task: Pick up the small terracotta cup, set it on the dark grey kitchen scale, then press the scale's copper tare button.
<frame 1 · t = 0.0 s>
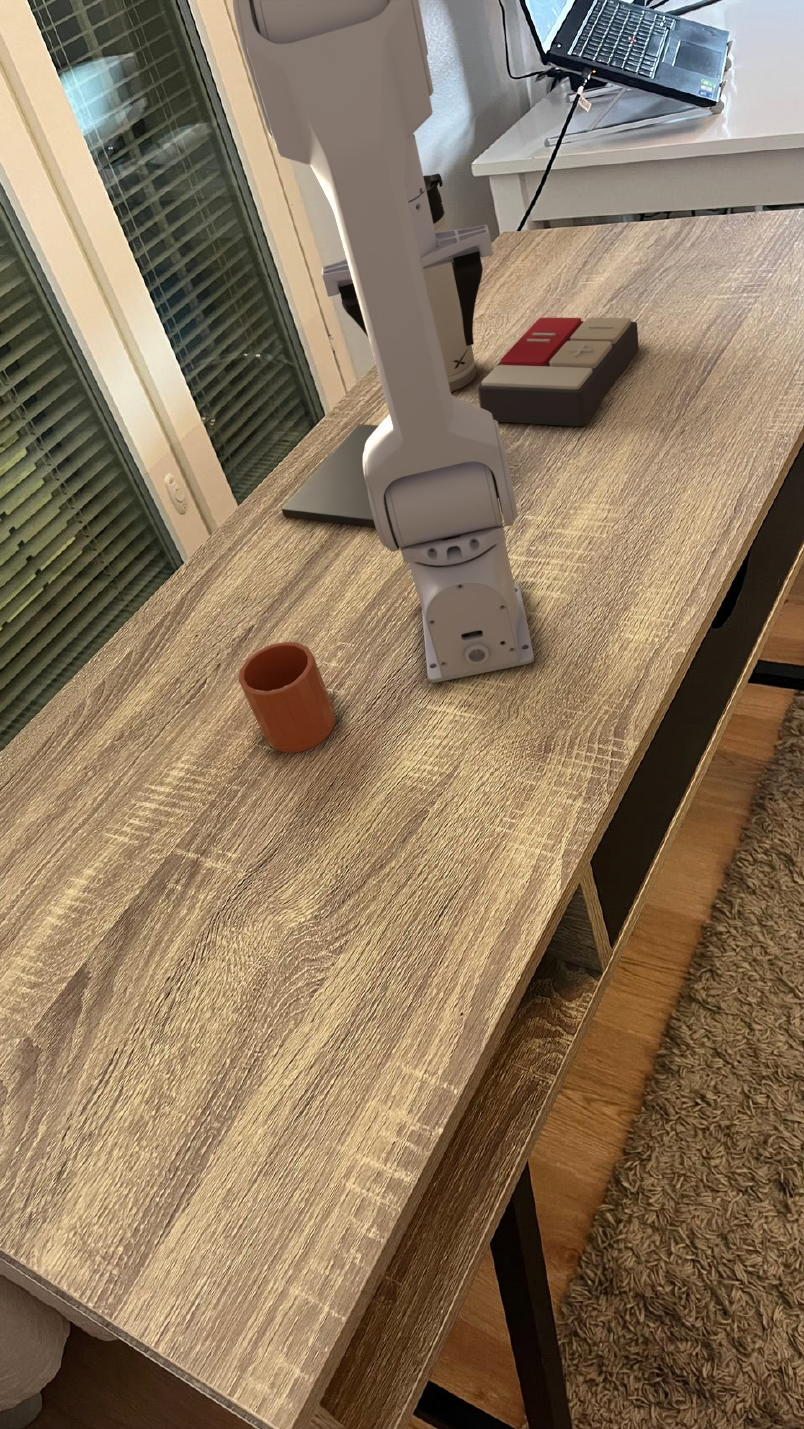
hand: (427, 350, 97), 10 cm above the table, tool pointing down, fingers open, 7 cm apart
scale: (370, 477, 104), on the table
travel mug: (450, 380, 114), on the table
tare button: (409, 429, 102), point 3 cm above the table, slide at 0.1 cm
calculator: (562, 387, 108), on the table
cup: (300, 726, 80), on the table
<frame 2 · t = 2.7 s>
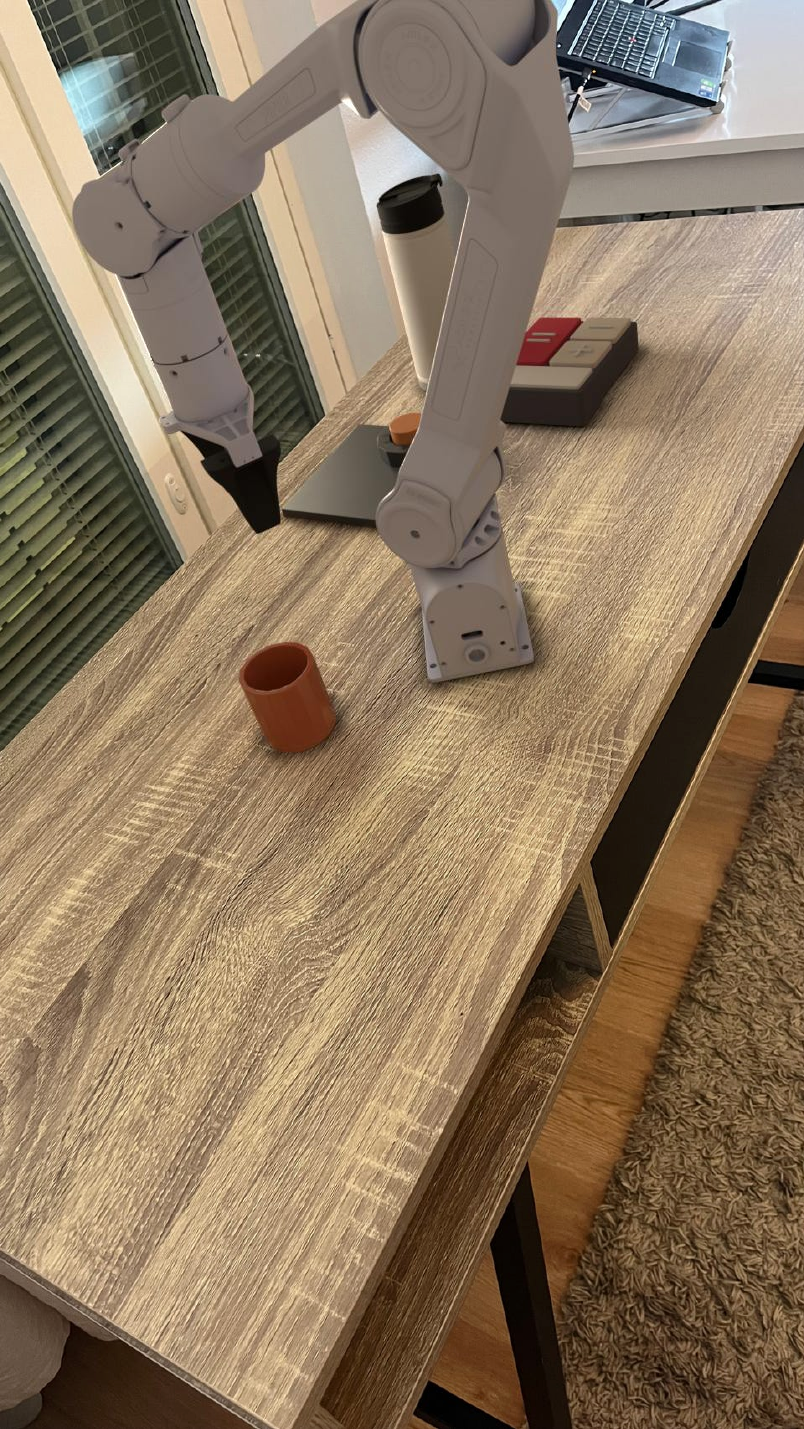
hand: (252, 506, 84), 10 cm above the table, tool pointing down, fingers open, 7 cm apart
nothing on the table moved.
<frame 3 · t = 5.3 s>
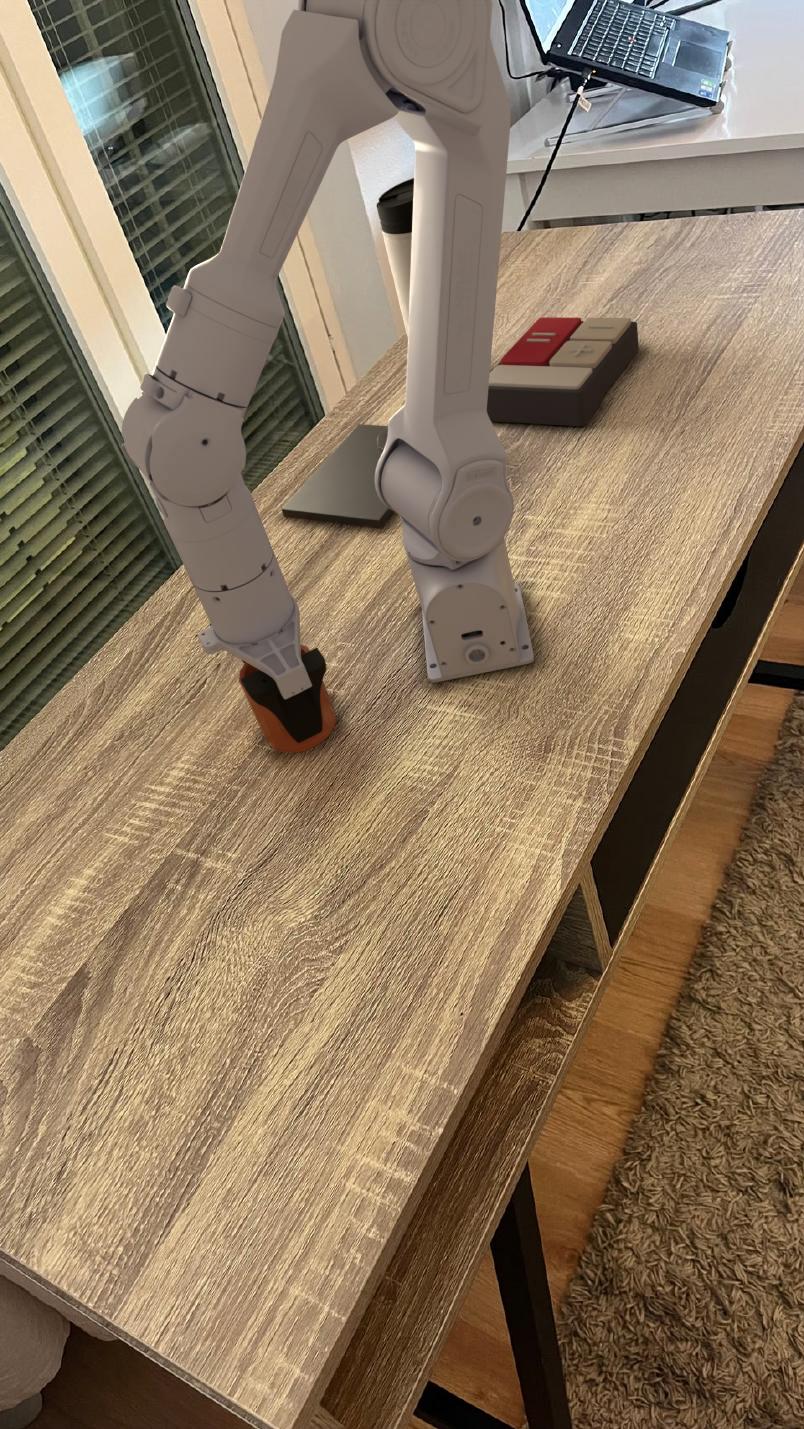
hand: (294, 710, 79), 2 cm above the table, tool pointing down, fingers closed on cup, 5 cm apart
cup: (300, 726, 80), on the table, touching gripper
everything else where it was.
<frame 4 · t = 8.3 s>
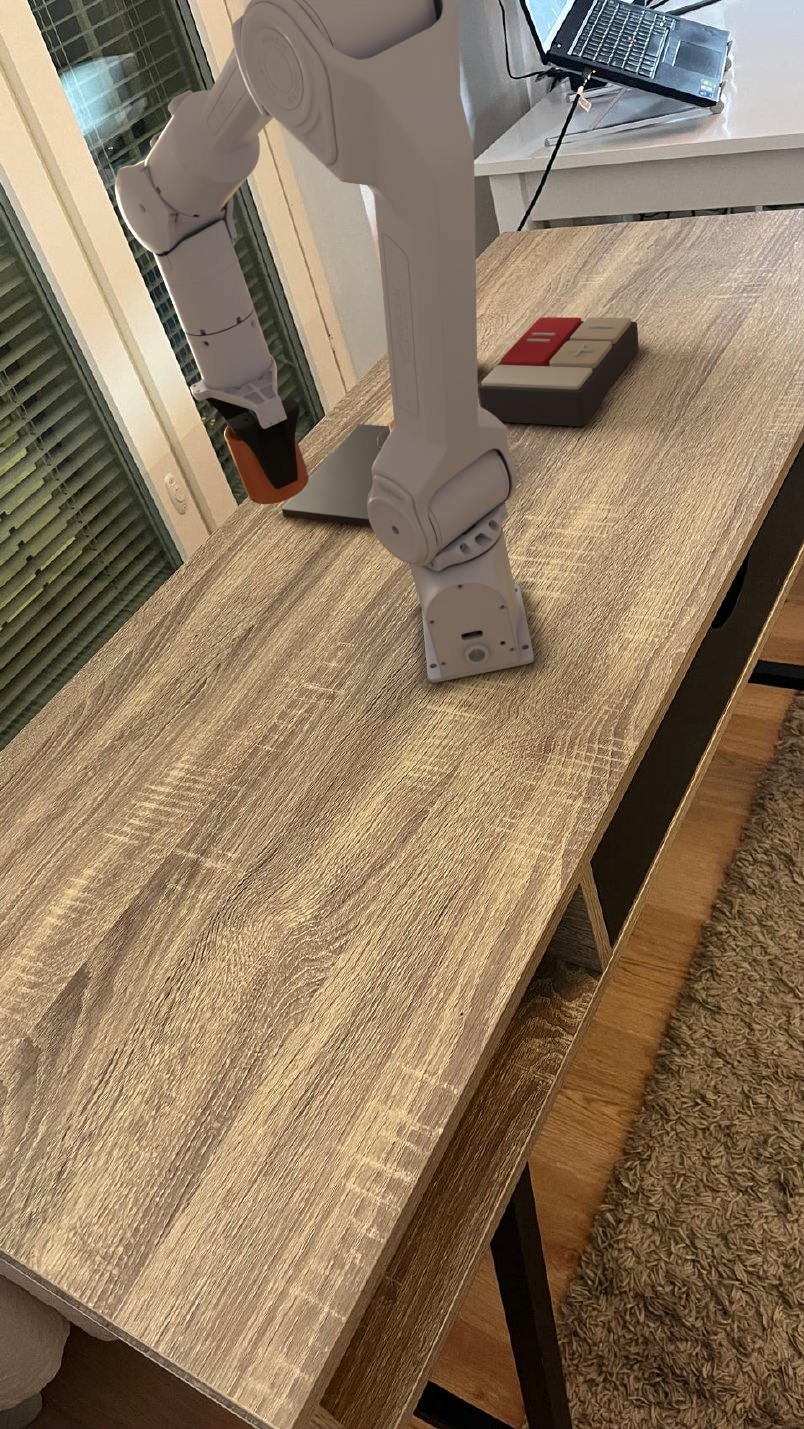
hand: (273, 469, 92), 8 cm above the table, tool pointing down, fingers closed on cup, 5 cm apart
cup: (278, 486, 93), point 7 cm above the table, touching gripper
everything else where it was.
when the fingers open (2 cm above the table, at t = 11.3 s): cup stays where it is, resting on scale.
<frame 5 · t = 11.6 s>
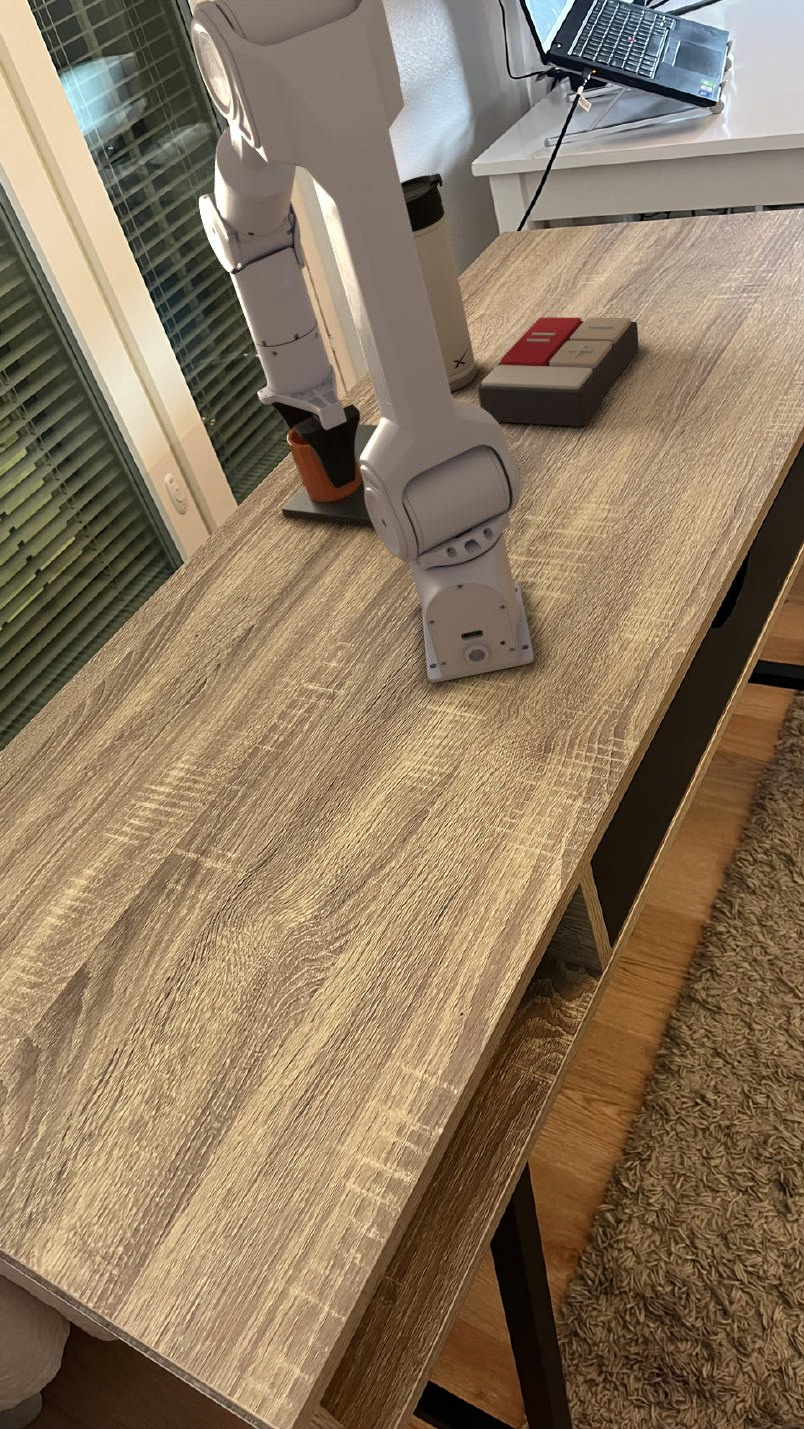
hand: (329, 466, 101), 3 cm above the table, tool pointing down, fingers open, 7 cm apart
cup: (334, 485, 102), point 1 cm above the table, touching scale
everything else where it was.
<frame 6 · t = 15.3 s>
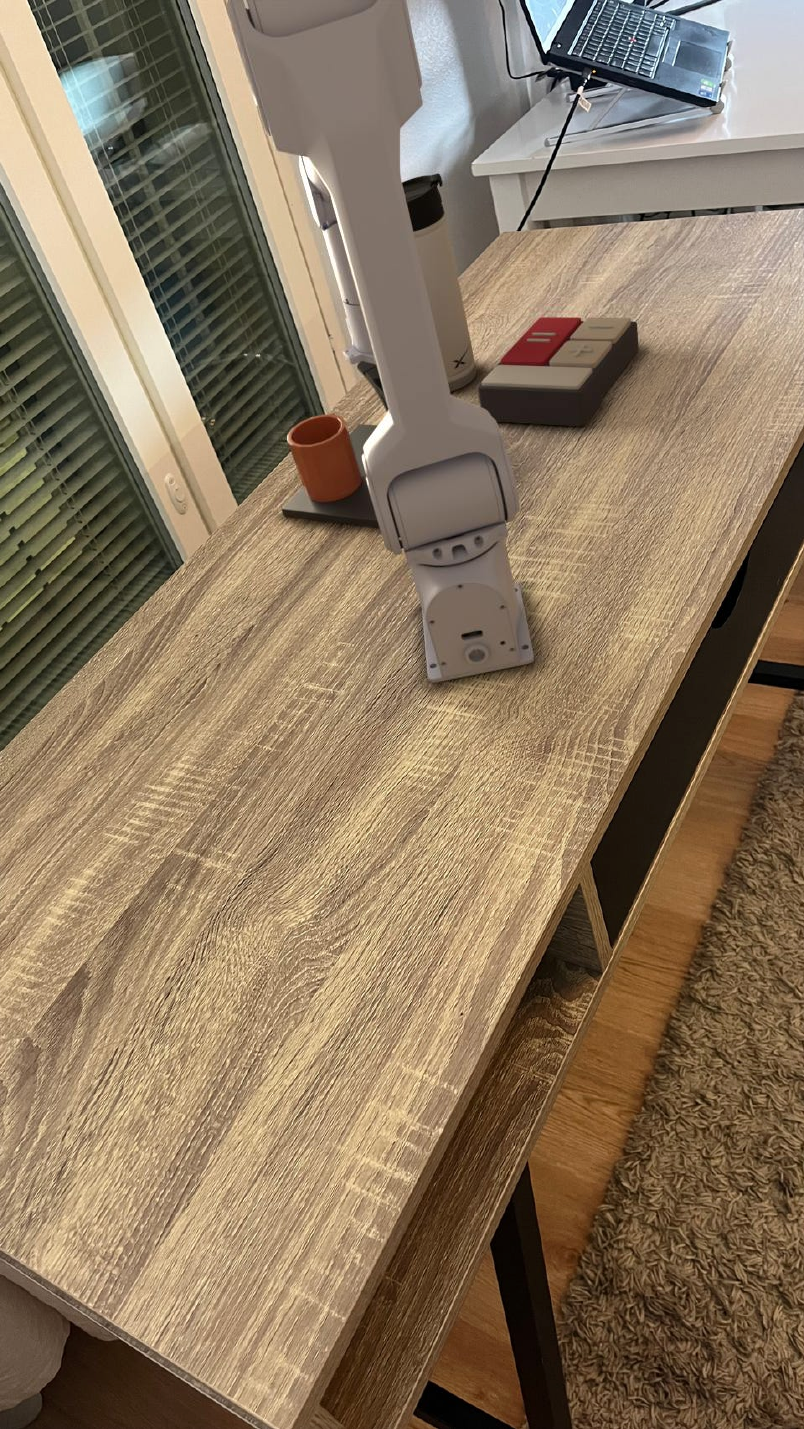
hand: (408, 428, 102), 3 cm above the table, tool pointing down, fingers closed, pressing on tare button
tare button: (410, 435, 103), point 2 cm above the table, slide at -0.4 cm, touching gripper
everything else where it was.
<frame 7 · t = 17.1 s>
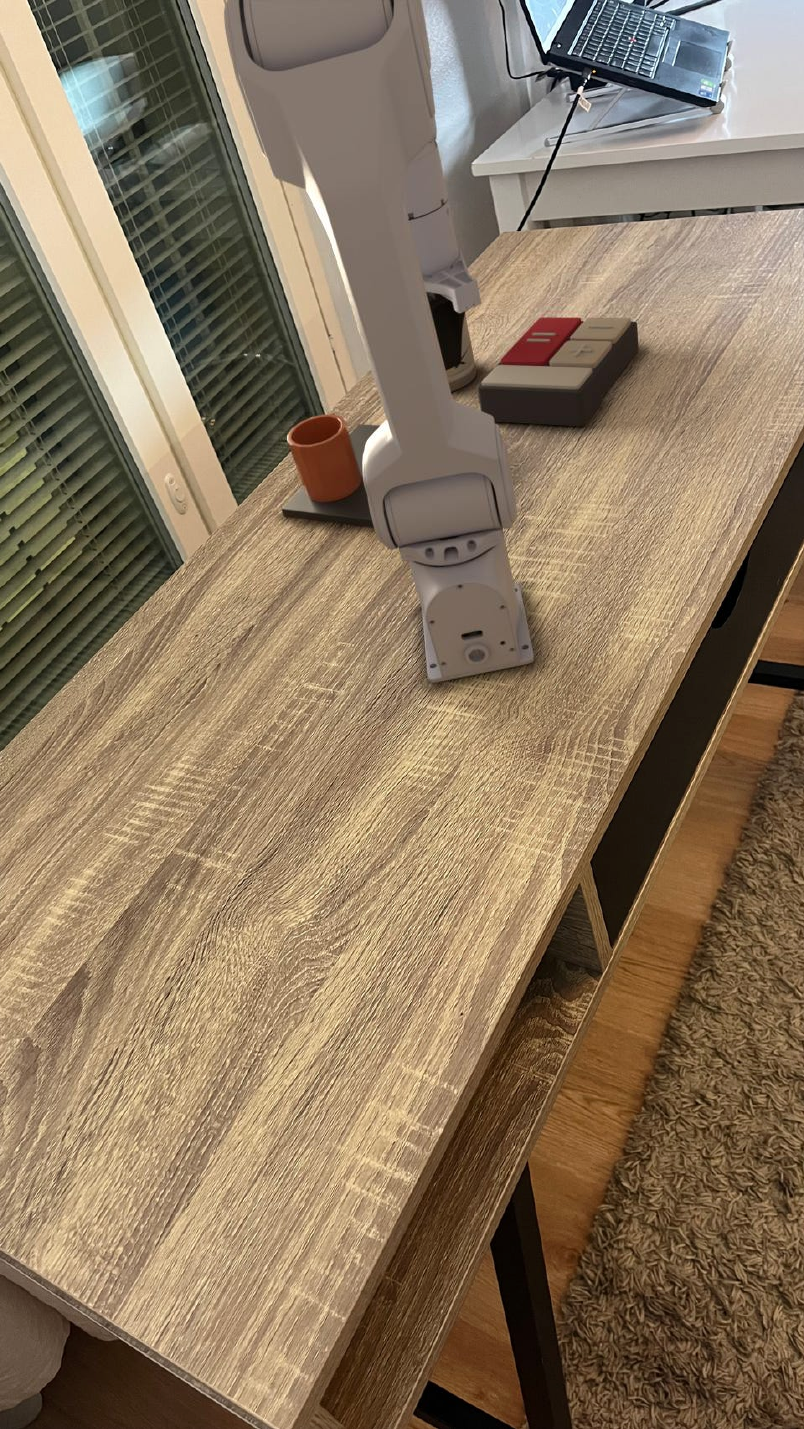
hand: (447, 366, 94), 10 cm above the table, tool pointing down, fingers closed
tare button: (409, 429, 102), point 3 cm above the table, slide at 0.1 cm
everything else where it was.
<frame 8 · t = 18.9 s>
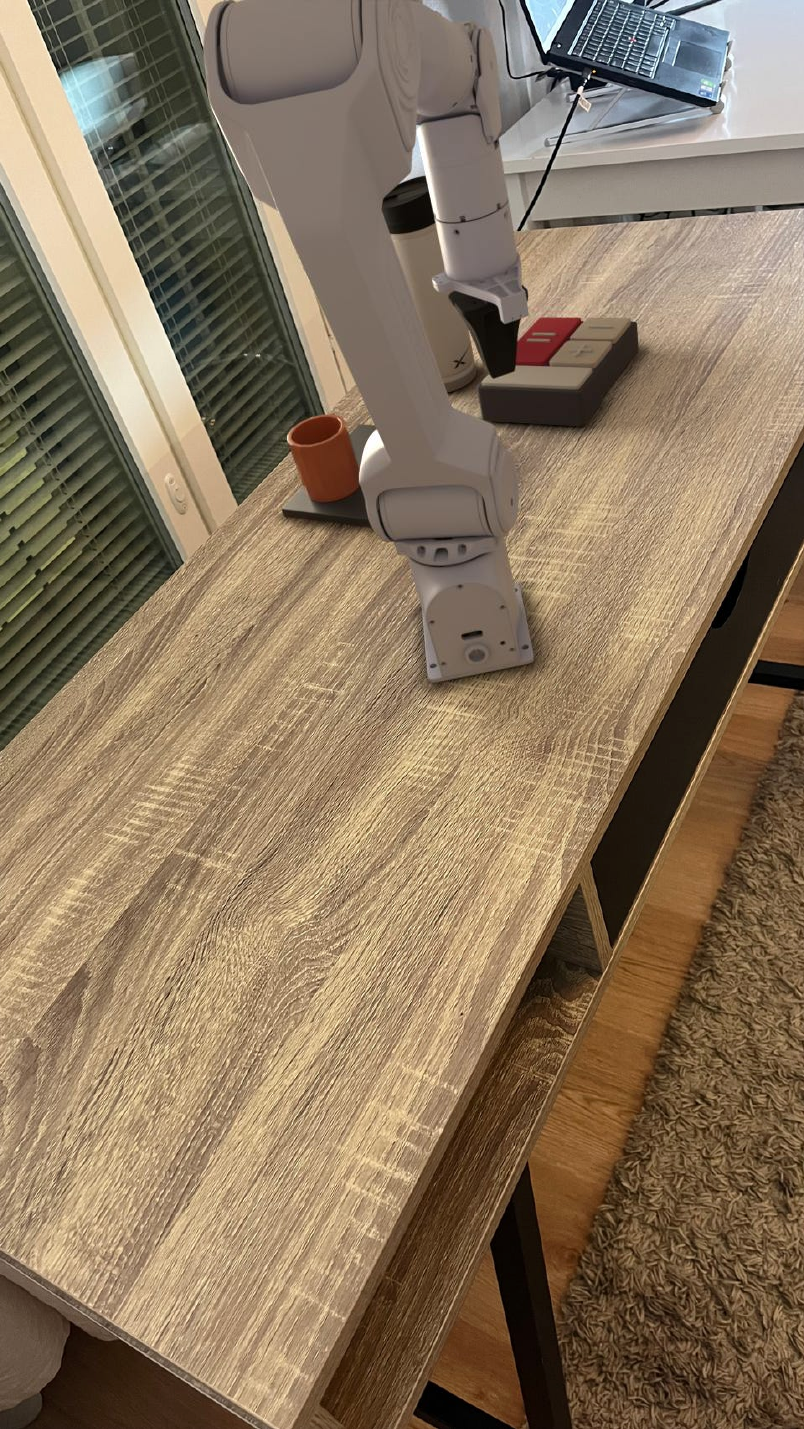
hand: (501, 372, 90), 10 cm above the table, tool pointing down, fingers closed
nothing on the table moved.
at the end: cup 0.1 cm from the target spot on the scale, point 0.9 cm above the scale's base; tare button pushed in 1.0 cm at the most during the clip, back to where it started at the end; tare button slide at 0.1 cm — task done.
